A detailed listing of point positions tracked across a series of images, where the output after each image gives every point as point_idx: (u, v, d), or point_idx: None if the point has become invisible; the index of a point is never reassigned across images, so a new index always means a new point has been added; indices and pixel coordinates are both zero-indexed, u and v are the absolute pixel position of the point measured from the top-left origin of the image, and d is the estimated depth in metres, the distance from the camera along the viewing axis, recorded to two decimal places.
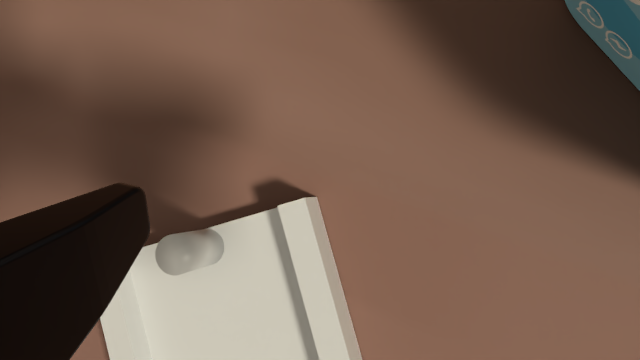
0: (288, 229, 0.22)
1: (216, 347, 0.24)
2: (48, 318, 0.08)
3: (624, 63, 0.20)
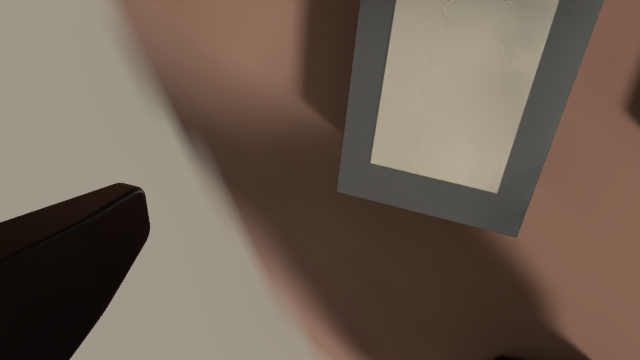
0: None
1: None
2: (48, 318, 0.08)
3: None
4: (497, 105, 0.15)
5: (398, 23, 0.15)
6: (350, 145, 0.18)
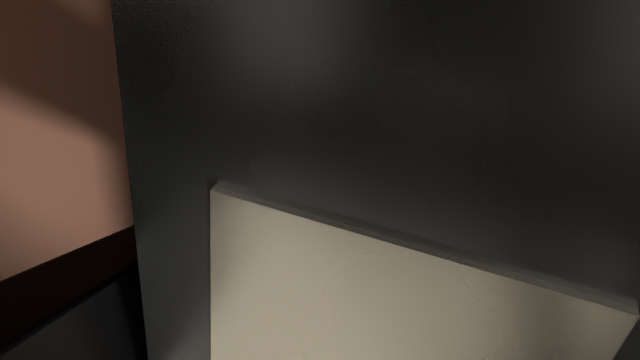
0: None
1: None
2: (132, 345, 0.07)
3: None
4: None
5: (222, 296, 0.06)
6: None
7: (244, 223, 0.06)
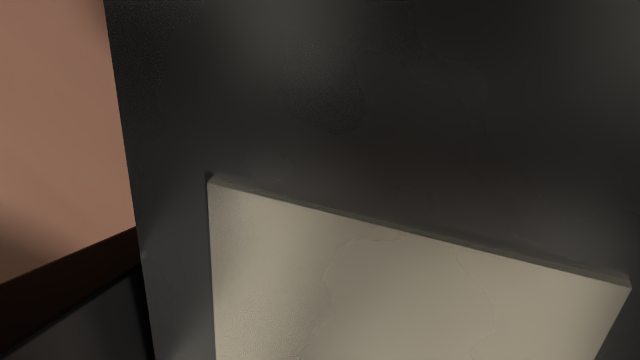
0: None
1: None
2: (136, 346, 0.07)
3: None
4: None
5: (224, 289, 0.06)
6: None
7: (241, 215, 0.06)
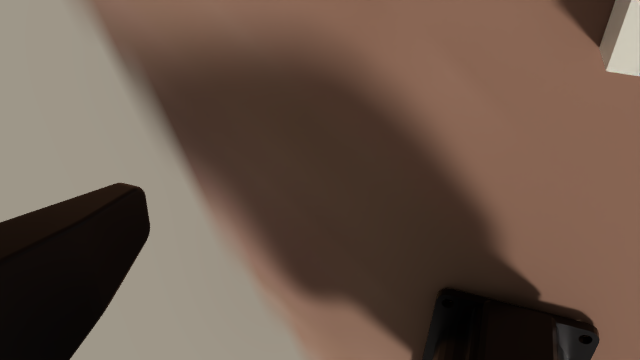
0: None
1: None
2: (48, 318, 0.08)
3: None
4: None
5: None
6: None
7: None
